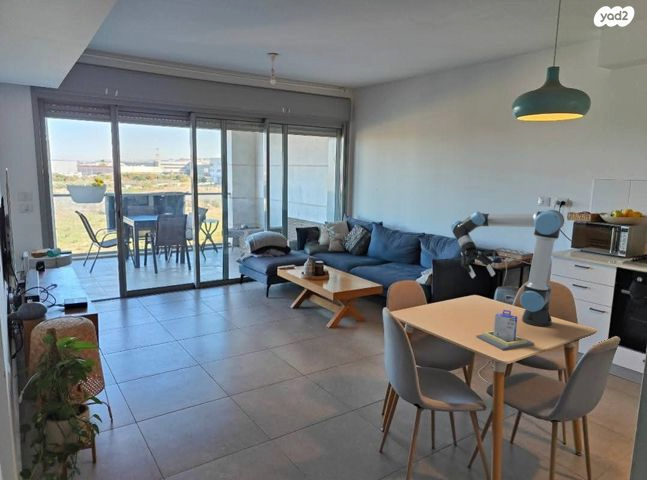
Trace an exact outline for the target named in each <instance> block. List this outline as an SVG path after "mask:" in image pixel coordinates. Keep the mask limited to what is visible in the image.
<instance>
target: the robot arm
mask: <svg viewBox="0 0 647 480" xmlns="http://www.w3.org/2000/svg"><path fill="white" fill-rule="evenodd" d="M564 217H565V216H564V215H563V213H561V212H560V211H558V210H555V209H549V210H545V211H537V212H535V213H524V212H522V213H518V212H517V213H484V212H483V213H482V212H480V211H475V212H473V213H472V214H471V215H469V216H468V217H467V218H465V219H464V220H456V221H455V222H453V223H452V224H451V225H450V229H451V232H452V233H453V235H454V238H455V239H456V241H457V243H458V245H459V247H460V248H461V252H460V253H459V255H460V257H461V260H460V261H461V262H460V263H461V268H464V269H465V270H466V271H467V273H468V274H469V276H470V277H471V279H474V278H475V277H476V276H477V275H476V273H475V271H474V269H473V267H472V265H470V263H471V260H476V261H479V262H481V263H482V264H483V265H485V266H486V269H487V271H488V272H489V275H490V277H494V276H495V275H496V271H494V268H493V263H494V262H493V260H492V259H490V258H489V256H487V255H486V253H484V251H483V250H481V249H480V250H477V247H476V244H475V243H474V241H473V239H472V237H471V236H470V235H471V234H470V233H471V232H472V231H475V229H478V228H479V227H506V228H507V227H508V228H509V227H511V228H512V227H516V228H522V227H523V228H534V233H533V235H534V237H535V244H534V247H533V248H534V249H533V255H532V259H531V263H530V264H531V266H530V270H529V275H528V281H526V282H525V283H523V284H524V285H523V291H522V293H521V295H520V297H519V303H520V305H521V307H522V308H524V309H525V310H524V312H523V314H522V318H521V320H522V322H523V323H525V324H527V325H530V326H536V327H550V326H552V322H553V321H552V320H553V319H552V317H551V314H550V306H551V296H552V295H551V293H552V285H551V284H549V283H547V280H548V274H549V269H550V264H551V260H552V255H553V251H554V250H553V249H554V245H555V241H557V240H558V239H559V236H560V232H561V229H562V228H563V227H564V224H565V218H564Z"/></svg>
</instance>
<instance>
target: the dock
mask: <svg viewBox="0 0 647 480" xmlns="http://www.w3.org/2000/svg"><path fill="white" fill-rule="evenodd" d="M493 335H494V330H489V331H483V334H477V335H475V336H476V338H477V339H479V340H481V341H482V342H483V341H484V342H486V344H489V345H491V346H493V347H495V348H497V349H500V350H502V351H506V350H512V349H518V348H523V347H529V346H534V345H535V342H533V341H531V340H528V339H526V338H524V337H522V336H519V335H517V334H516V340H515V341H513V342H510V341H505V340H502V339H499V338H497V337H495V336H493Z"/></svg>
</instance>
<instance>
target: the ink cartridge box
mask: <svg viewBox="0 0 647 480" xmlns="http://www.w3.org/2000/svg"><path fill="white" fill-rule="evenodd" d="M511 313H512V310H507V309H503V311H502V313H500V312H497V313H496V314H495V315H494V323H493V331H494V335H493V336H495V337H497V338H499V339H502V340H505V341H510V342H513V341H515V340H516V335H517V327H518V325H517V324H518V316H517V315H513V314H512V315H511Z"/></svg>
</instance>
